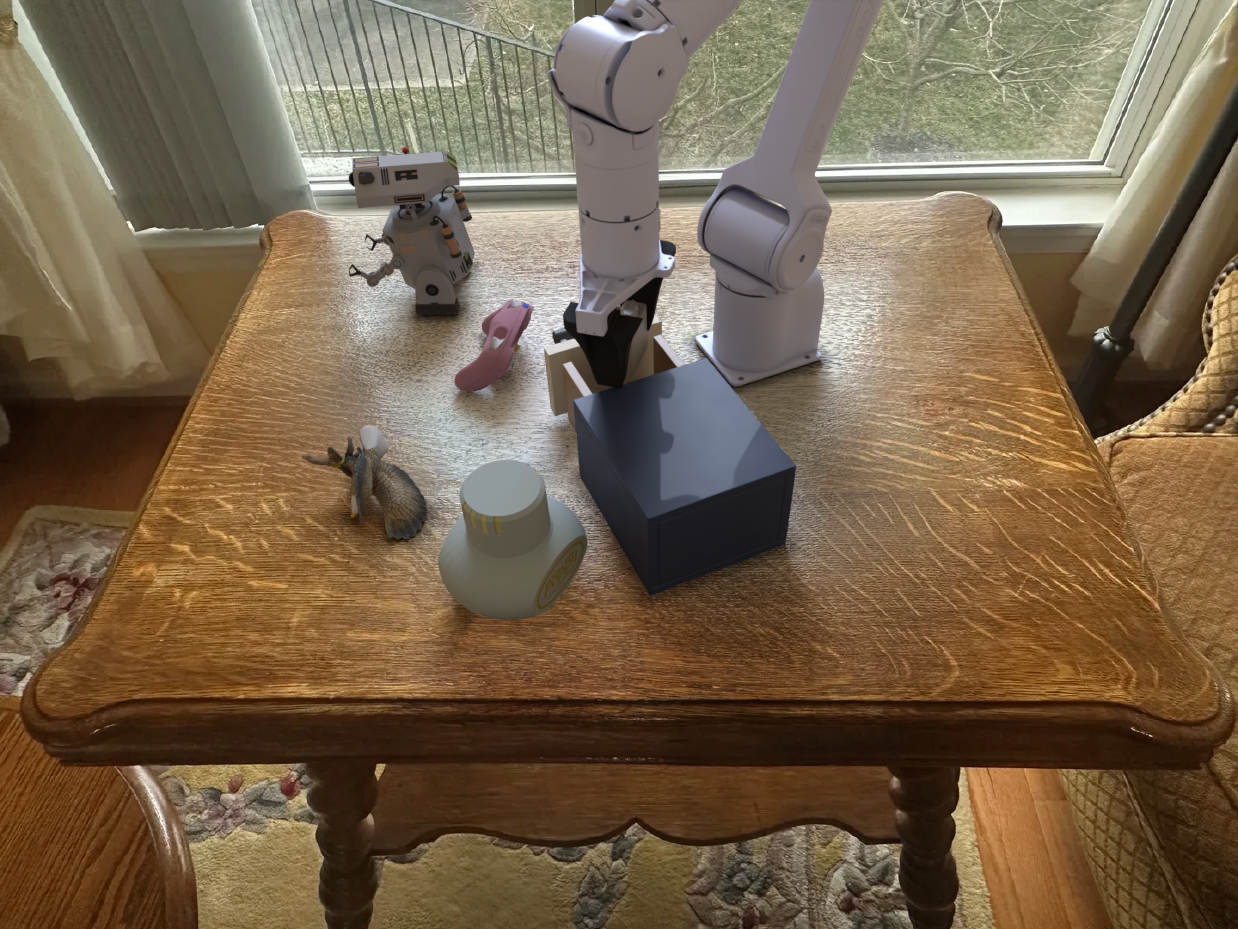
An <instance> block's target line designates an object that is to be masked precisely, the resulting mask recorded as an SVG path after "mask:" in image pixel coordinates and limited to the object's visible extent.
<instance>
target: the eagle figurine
mask: <svg viewBox="0 0 1238 929" xmlns="http://www.w3.org/2000/svg"><path fill="white" fill-rule="evenodd" d="M358 434H359V435H358V436H359V440H360V443H361V447H360V446H357V447H356V452H355V453H354V451H355V446H354V440H353V438H352V437H351V436H349V435H348V436H347V447H346V451H345V453H344V456H341V454H340V453H339V452H338V451H337V450H336V449H335V448H334V447H333V446H331V445H328V447H327V450H326V452H327V456H328V457H318V456H313V455H310V454H302V455H301V458H302V459H303V460H305V461H307V462H308V463H310V464H312V465H317V466H326V467H330V468H333V469H338V470H339V471H342V473H343V474H344V475H346V477H348V478H350V479H351V484H350V485H351V486H350V491H351V493H350V495H351V501H350V508H351V515H350V518H351V519H354V518H355V517H356V515H357V516H358V521H359V523H361V524H362V523H363V515H364V512H365V509H366V508H367V505H368V504H369V502H370V501H371V500H370V499H371V497H372V496H373V497H375V498H376V500H377V501H378V504H379V506H380V508H381V510H382V513H383V516H384V519H383V520H384V526H385V532H386V535H387V537H388V538H389V539H392V538H394V539H395V540H401V539H404V540H409V539H410V538H411V537H415V536H416V535H417V531H421V529H422V525H423V524H422V522H425V521H426V517H425V516H426V515H428V507H427V501H426V500H425V495H423V493H422V491H421V490H420V488H419V487H418V485H416V482H414V480H413V479H412V478H411V476H410V475H409V474H408V473H407V472H406V471H405V470H404V469H402V468H401V467H400V466H397V465H395V464H391V463H390V462H386V461H385V460H382V458H383V457H384V456H385V455H386V454H387V453H388V452H389V444H388V441H387V439H386V438H385V436H384V433H383V432H382V430H380V428H379V427H378V426H377V425H376V426H375V425H372V424H370V425H369V424H368V425H365V426H363V427H362V428H360V430H359V433H358Z"/></svg>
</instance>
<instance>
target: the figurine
mask: <svg viewBox="0 0 1238 929" xmlns="http://www.w3.org/2000/svg"><path fill="white" fill-rule="evenodd" d="M401 152H402V153H401V154H391V155H390V154H389V155H378V156H364V157H353V158H351V165H352V166H351V169H352V170H351V172H350V173H349V174H348V182H349V184H350V185H351V187H354V191H355V192H354V193H355V199H356V204H357V209H366V208H367V209H368V208H379V207H389V206H395V207H393V209H391V210H390V211H389V214H388V216H387V218H386V220H385V224H384V225H383V228H382V233H381V237H378V238H374V237H372V236H370V235H369V234H367V233H366V234H365V238H364V241H365V242H366V241H367V239H369V240H370V241H371V242H372V246H371V248H370V247H368V246H367V247H366V249H368V250H369V251H371V252H374V250H375V248H376V246H377V244H385V245H386V246H388V247H389V249H390V251H391V254H392V257H391V259H390V262H387V261H384V262H382V264H381V265H380V266H379V268H377V269H376V271H371V272H369V273H366V272H364V271H363V270H360V269H358V267H356V266H355V264H354V263H351V265H350V266H349V268H348V275H349V278H351V277H355V276H360V277H361V278H363V279H365V280H366V284H367V286H368V287H370V288H375V287H377V286H378V285H379V284H380V282H381V281H382V280H383V279H384V278H386V277H390V276H392V274H393V273H394V272H395V270H399V272H400V274H401V277H402V278H403V281H404V284H405V285H407V287H408V286H409V287H410V288H412V289H413V290H414V292H415V294H414V295H415V300H416V302H415V305H414V306H415V314H416V315H419V316H420V317H425V316H426V315H427V316H428V317H433V316H434V315H440V317H446V316H447V315H448V316H449V317H454V316H455V315H459V313H460V308H461V305H460V302H459V299H458V297H456V294H455V290H454V287H453V285H454V284H456V283H457V282H459V281H461V280H462V279H463V278H465V277H466V276H468V275H469V274H470V271H471V269H472V268H473V265H474V257H475V253H476V252H475V249H474V246H473V244H472V241H471V238H470V236H469V234H468V233H469V232H468V231H467V228H466V226H465V223H467V222H470V221H471V220H472V219H473V216H472V214H471V212H470V210H469V207H468V204H467V202H466V198H465V195H464V194H463V190H462V189H461V188H456V187H458V186H461V183H460V174H459V169H458V164H457V159H456V156H455V155H453V154H452V153H450V152H448V151H446V150H445V151H431V152H419V153H417V152H414V153H413V152H411V153H410V149H409V148H408V147H407V146H404V147H402V149H401ZM448 188H453V189H454V190H453V191H452V192H451V193H452V196H453V197H452V196H449V195H447V194H445V193H444V192H445V190H446V189H448ZM440 192H441V194H440ZM352 268H353V270H354V272H352V273H351V269H352Z"/></svg>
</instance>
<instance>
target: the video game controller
mask: <svg viewBox="0 0 1238 929" xmlns="http://www.w3.org/2000/svg"><path fill="white" fill-rule="evenodd" d="M534 309H535V306H534V305H532V304H529V303H527V302H525V301H523V300H516V299H513V298H511V299H509V300H507V301H506V302H505V303H504V305H502V306H501V307H500V308H498V309H496V310H495V311H493V312H491V313H490V314H488V315H487V316H486V317H485V318H484V319H483V321H482V323H481V330H482V332H483V333H484V334H485V336H486V339H485V341H484V345H483V346H482V350H481V352H480V353H479V355H478V356H477V357H476V358H475V359H474V360H473V361H472V362H470V363H469V364H467V365H466V366H464V367H463V368H461V369H459V370H458V372H456V374H455V376H454V386H455V387H456V388H457V389H458V390H459V391H461V392H466V393H474V392H478V391H482V390H484V389H486V388H488V387H490V386H491V385H493V384H494V383H495V382H497V381H498V380H501V379H502V377H503V375H504V374H505V373H507V371H508V370H510V372H513V371H515V370H516V368H517V366H518V364H519V362H518V358H516V359H515V357H514V356H515V353H517V352H519V350H520V344H518V342H519V340H520V338H521V337H522V335H523V333H524V332H525V331H526V330H527V329H528V326H529V325H530V322H531V320H532V314H533V312H534V311H533V310H534Z"/></svg>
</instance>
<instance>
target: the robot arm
mask: <svg viewBox="0 0 1238 929" xmlns="http://www.w3.org/2000/svg"><path fill="white" fill-rule="evenodd" d="M740 3H741V0H613V2H612V4H611V5H610V6H609V7H608V9H607V10H606V11H605V12H604V13H603V15H598V14H592V17H590V16H585V17H583V18H581V19H579V20H578V21H577V22H576V23H574V24H573V25H571V26H570V27H569V28H568V29H567V30H566V31H565V32H564V33H563V35H562V36H561V37H560V39H559V41H558V43H557V45H556V46H557V47H556V48H555V52H554V57H553V67H552V68H551V69H550V70H548V71H547V78H548V83H549V86H550V89H551V91H552V94H553V95H554V96H555V98H556V99H557V100H558V101H559V102H560V103H561V104H562V106H563V107H564V110H565V114H566V127H567V128H570V130H571V131H572V142H573V155H574V157H573V158H574V167H575V168H574V170H575V181H576V197H577V198H576V199H577V206H578V207H577V209H578V222H579V224H578V225H579V236H580V249H581V250H580V254H579V260H578V261H579V262H578V264H579V301H578V302H576V301H570V302H569V304H568V305H567V307H566V309H565V311H564V312H563V314H562V323H563V328H565V330H566V331H567V332H568V333H569V334H570V335H571V336H572V337H573V338H574V339H575V340H576V341H577V343H578V344H579V345H580V347H581V348H582V350H583V352H584V354H585V356H586V358H587V360H588V363H589V365H590V368H591V370H592V373H593V375H594V378H595V380H596V382H597V384H598V385H603V386H609V387H615V388H622V386H623V383H624V381H625V378H626V374H627V368H628V360H629V352H630V347H631V343H632V340H633V337H634V335H635V334H636V332H637V330H638V328H639V326H640V324H641V322H642V320H643V318H639V317H633V316H627V315H621V310H620V309H618V310H617V307H622V305H623V303H624V302H625V300H629V301H631V300H634V301H635V302H638V303H644V304H646V309H647V331H649V329H650V327H651V325H652V322H653V319H654V315H656V310H657V305H658V302H659V301H658V300H659V296H660V291H661V287H662V284H663V280H664V279H667V278H670V277H671V276H672V274H673V272H674V270H675V268H676V257H675V256H676V253H677V246H676V245H675V243H674V242H672V241H670V240H663V239H661V236H660V232H661V230H662V229H661V208H660V169H659V168H660V159H659V156H660V152H659V151H660V148H659V147H660V146H659V143H660V142H659V141H660V140H659V138H660V136H659V132H660V129H659V127H660V125H659V124H660V123H659V121H660V120H661V119H663V118H664V117H666V115H667V114H668V112H669V111H670V110H671V107H672V105H673V103H674V101H675V98H676V96H677V93H678V89H679V85H680V83H681V81H682V79H683V78H684V76H685V75H686V74H687V73H688V71H687V69H688V68H689V67H690V62H689V60H690V59H691V57H692V56H693V55H694V54H695V53H696V52H697V51H698V50H699V49H700V48H701V47H702V45H703V44H704V43H706V41H707V40H709V38H710V37H711V36H712V35H713V34H714V33H715V32H716V31H717V30H718V29H719V27H720V26H721V25H722V24H723V23H724V22H725V21H726V20H727V19H728V18H729V17H730V15H731V14H732V13H733V12H734V11H735V10H736V9H737V8H738V7H739V5H740ZM883 3H884V0H809V3H808V5H807V8H806V11H805V14H804V17H803V20H802V22H801V25H800V28H799V29H798V30H799V31H798V33H797V36H796V39H795V41H794V44H793V47H792V48H791V49H792V50H791V52H790V55H789V58H788V61H787V63H786V66H785V69H784V71H783V74H782V77H781V80H780V82H779V86H778V88H777V91H776V94H775V96H774V98H773V102H772V103H771V107H770V110H769V113H768V116H767V117H766V121H765V123H764V126H763V129H762V132H761V135H760V137H759V140H758V143H757V146H756V148H755V151H754V153H753V155H751V156H749V157H747V158H745V159H742V160H740V161H738V162H735V163H733V164H731V165H728V166H727V167H726V168H724V169H723V171H722V173H721V177H720V179H719V181H718V184H717V186H716V188H715V189H714V191H713V192H712V195H711V196H710V197H709V198H708V199H707V201H706V202H705V204H704V206H703V207H702V209H701V212H700V215H699V218H698V222H697V229H696V231H697V232H696V236H697V242H698V246H700V249H702V251H704V252H706V253H707V254H709V267H711V268H712V269H713V270H714V272H715V280H714V299H713V300H714V302H713V303H714V304H713V326H712V327H713V328H712V330H711V331H708V332H705V333H701V334H698V335H695V338H694V341H695V343H696V345H697V346H698V347H699V349H701V351H702V352H703V353H704V354H705V355H706V356H707V359H708V360H709V361H710V362H711V363H712V365H713V366H714V367H715V368H716V369H717V371H718V372H719V373H720V374H721V375H722V377H723V378H724V379H725V380H726V381H727V383H728V384H729V385H730V386H731V387H740V386H744V385H746V384H750V383H753V382H756V381H759V380H762V379H766V378H768V377H771V376H774V375H778V374H781V373H785V372H787V371H791V370H792V369H796V368H799V367H801V366H802V367H803V366H805V365H808V364H811V363H814V362H818V361H820V360H821V359H822V353H821V351H820V350H819V349H818V348H819V341H820V340H819V339H820V333H821V326H822V319H823V312H824V305H825V288H824V282H823V279H822V276H821V274H820V272H819V268H817V267H818V265H819V263H820V261H821V258H822V255H823V252H824V248H825V247H824V246H825V236H826V231H827V227H828V224H829V221H830V218H831V216H832V213H833V209H832V206H831V203H830V202H829V199H828V198H827V196H826V195H825V192H824V191H823V189H822V187H821V185H820V183H819V181H818V180H817V177H816V172H817V169H818V167H819V165H820V162H821V159H822V156H823V154H824V151H825V149H826V147H827V145H828V141H829V139H830V137H831V133H832V131H833V129H834V126H835V124H836V121H837V119H838V117H839V113H840V111H841V109H842V106H843V104H844V101H845V98H846V97H847V93H848V91H849V88H850V86H851V83H852V81H853V79H854V76H855V74H856V71H857V68H858V66H859V63H860V61H861V58H862V56H863V53H864V50H865V49H866V48H865V47H866V45H867V43H868V40H869V38H870V36H871V33H872V30H873V29H874V28H873V27H874V26H875V23H876V20H877V18H878V16H879V13H880V10H881V8H882V5H883ZM757 194H758V195H757ZM759 195H760V196H759ZM765 198H766V199H765ZM768 199H769V200H771V201H769V200H768ZM772 201H773V202H772ZM776 203H777V204H776ZM778 204H779V205H778Z"/></svg>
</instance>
